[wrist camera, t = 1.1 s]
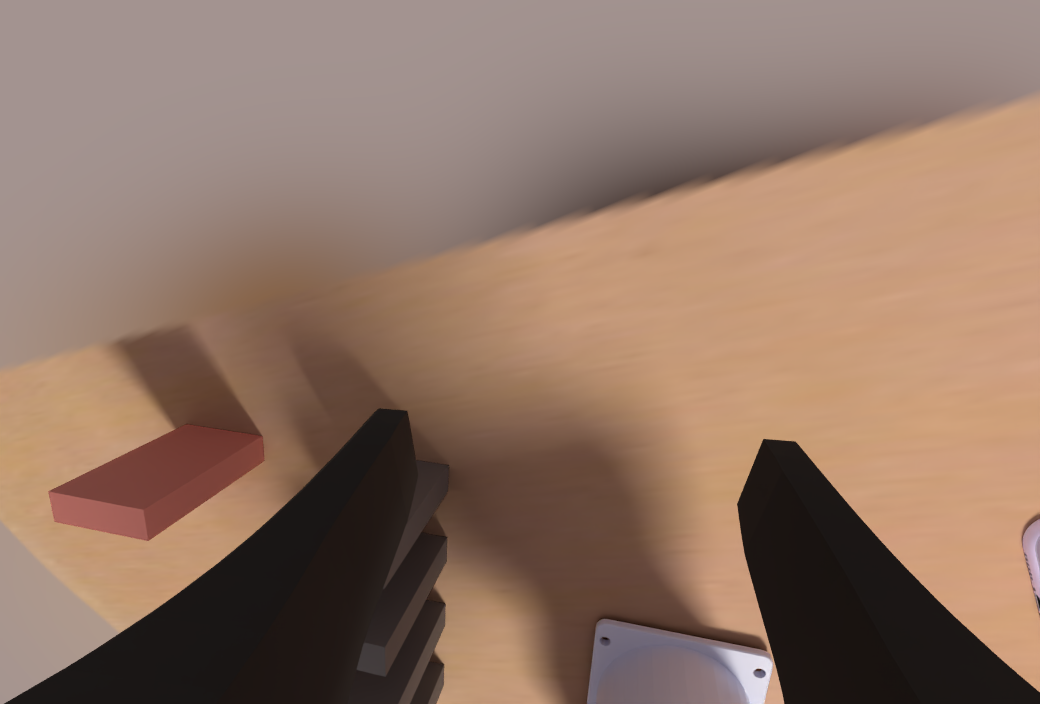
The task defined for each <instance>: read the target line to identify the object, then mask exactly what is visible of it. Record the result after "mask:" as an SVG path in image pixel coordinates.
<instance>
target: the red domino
mask: <svg viewBox="0 0 1040 704" xmlns="http://www.w3.org/2000/svg"><path fill="white" fill-rule="evenodd" d="M263 461H264V449H263V437H262V436H259V435H252V434H246V433H239V432H233V431H227V430H220V429H214V428H207V427H201V426H195V425H188V424H186V425H184V426H182V427H180V428H177V429H175V430H173V431H171V432H169V433H167V434H165V435H163V436H161V437H159V438H157V439H155V440H153V441H151V442H149V443H147V444H145V445H143V446H141V447H139V448H136V449H134V450H132V451H130V452H128V453H126V454H124V455H122V456H120V457H118V458H116V459H114V460H112V461H110V462H108V463H106V464H104V465H102V466H100V467H98V468H95V469H93V470H91V471H89V472H87V473H85V474H83V475H81V476H79V477H77V478H75V479H73V480H71V481H69V482H67V483H65V484H63V485H61V486H59V487H57V488H54V489H52V490H50V491H48V492H49V497H50V502H51V507H52V511H53V516H54V521H55V522H58V523H63V524H68V525H73V526H78V527H83V528H87V529H92V530H97V531H102V532H107V533H112V534H117V535H122V536H127V537H131V538H136V539H141V540H146V541H149V540H150V539H152V538H153V537H155V536H156V535H158V534H159V533H160V532H162V531H163V530H165V529H166V528H168V527H169V526H171V525H172V524H174V523H175V522H176V521H178V520H179V519H181V518H182V517H184V516H185V515H187V514H188V513H189V512H191V511H192V510H194V509H195V508H197V507H198V506H200V505H201V504H203V503H204V502H205V501H207V500H208V499H210V498H211V497H213V496H214V495H216V494H217V493H218V492H220V491H221V490H223V489H224V488H226V487H227V486H229V485H230V484H232V483H233V482H234V481H236V480H237V479H239V478H240V477H242V476H243V475H245V474H246V473H247V472H249V471H250V470H252V469H253V468H255V467H256V466H258V465H259V464H260V463H262V462H263Z"/></svg>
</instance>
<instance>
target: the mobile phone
mask: <svg viewBox="0 0 1040 704" xmlns="http://www.w3.org/2000/svg"><path fill="white" fill-rule="evenodd" d="M1023 549H1024V553H1025V558H1026V562H1027V566H1028V570H1029V574H1030V577H1031V582H1032V586H1033V590H1034V594H1035V597H1036V601H1037V605H1038V610H1039V613H1040V519H1039V520H1037V521H1035V522H1034V523H1032V524H1031V525H1030V526H1029V527H1028V528H1027V530H1026V531H1025V534H1024V536H1023Z"/></svg>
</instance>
